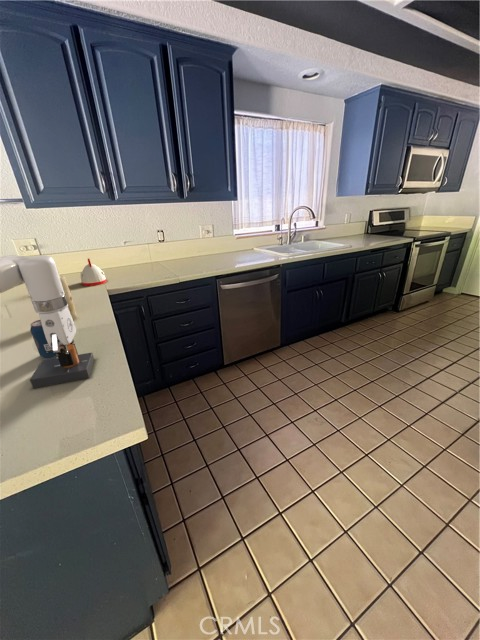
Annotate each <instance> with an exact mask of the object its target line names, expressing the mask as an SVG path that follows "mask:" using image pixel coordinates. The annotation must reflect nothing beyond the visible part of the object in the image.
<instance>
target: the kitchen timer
mask: <svg viewBox="0 0 480 640" xmlns="http://www.w3.org/2000/svg"><path fill="white" fill-rule="evenodd" d="M80 280H81V285H82V286H85V287H91V286H93V287H95V286H100V285H102V284H105V283H107V278H106V275H105V272H104V270H103V269H101V268H100V267H99V266H97V265H96V264H93V263H91V259H90V258H87V264H86V265H85V266H84V267H83V268H82V271H81V272H80Z"/></svg>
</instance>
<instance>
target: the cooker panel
mask: <svg viewBox="0 0 480 640" xmlns="http://www.w3.org/2000/svg"><path fill="white" fill-rule="evenodd" d="M78 359H79V363H78V364H77V365H75V366H73V367H69V368H64V367H61V365H60V362H59V359H58V357H55V358H50V359H44V360H41V361H40V363H39V364H38V366H37V367H36V369H35V371H34V372H33V373H32V375H31V377H30V378H29V381H30V384H31V386H32V389H38V388H43V387H49V386H53V385H59V384H65V383H70V382H74V381H80V380H85V379H89V378H90V376H91V373H92V370H93V367H94V364H95V357H94V354H93V352H87V353H80V354H78Z"/></svg>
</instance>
